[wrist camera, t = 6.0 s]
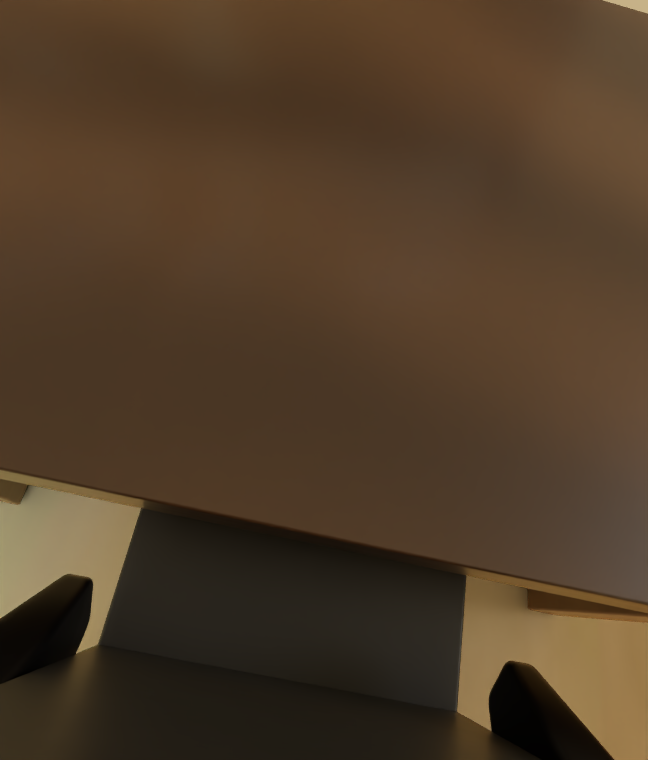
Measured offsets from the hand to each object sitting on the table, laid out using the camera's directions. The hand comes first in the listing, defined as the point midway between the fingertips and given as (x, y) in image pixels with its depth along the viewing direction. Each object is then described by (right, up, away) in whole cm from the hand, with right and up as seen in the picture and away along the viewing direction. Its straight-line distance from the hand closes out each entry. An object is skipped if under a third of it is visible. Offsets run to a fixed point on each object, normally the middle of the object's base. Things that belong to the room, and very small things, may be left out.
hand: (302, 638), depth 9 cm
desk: (0, +5, +12) cm, 13 cm away
